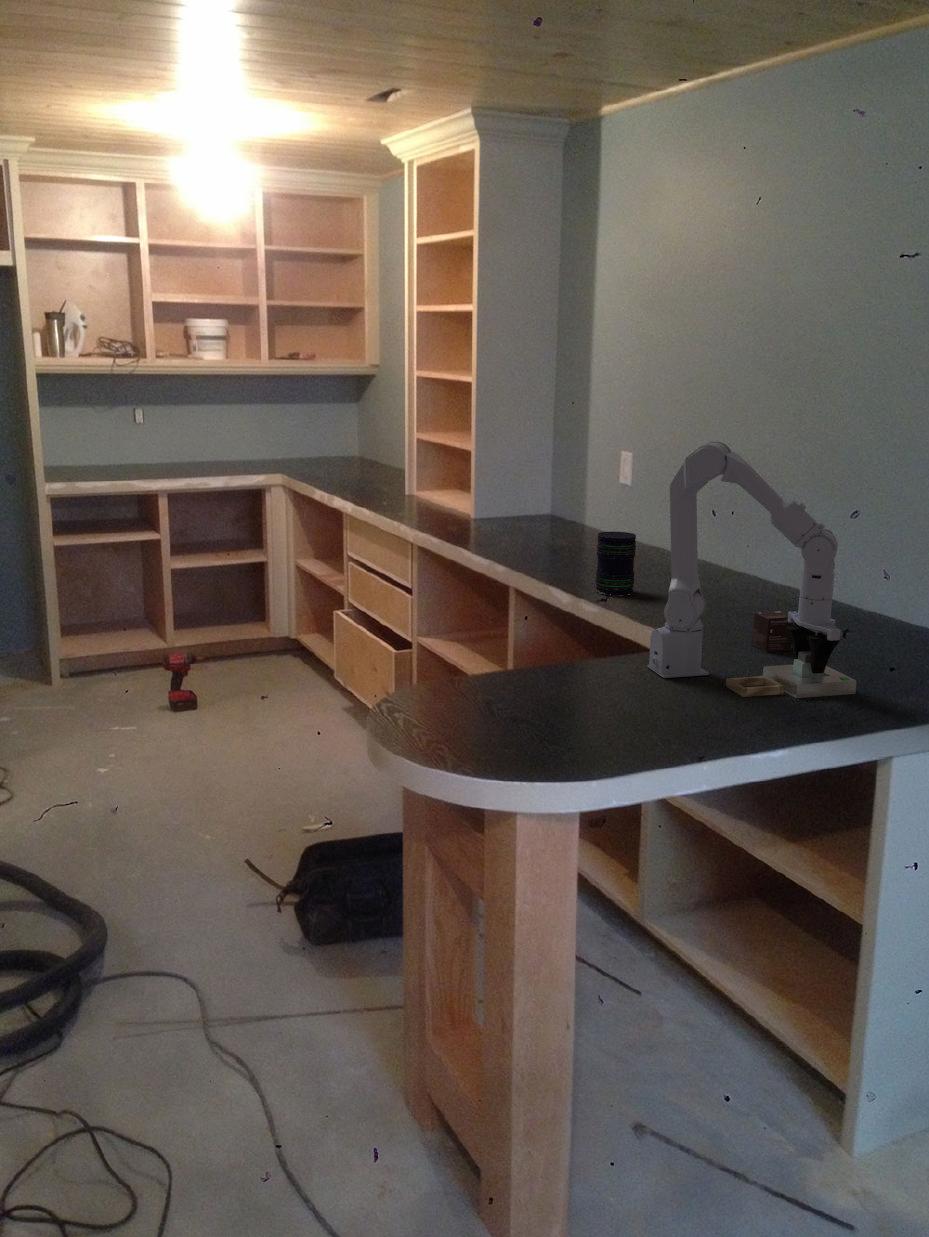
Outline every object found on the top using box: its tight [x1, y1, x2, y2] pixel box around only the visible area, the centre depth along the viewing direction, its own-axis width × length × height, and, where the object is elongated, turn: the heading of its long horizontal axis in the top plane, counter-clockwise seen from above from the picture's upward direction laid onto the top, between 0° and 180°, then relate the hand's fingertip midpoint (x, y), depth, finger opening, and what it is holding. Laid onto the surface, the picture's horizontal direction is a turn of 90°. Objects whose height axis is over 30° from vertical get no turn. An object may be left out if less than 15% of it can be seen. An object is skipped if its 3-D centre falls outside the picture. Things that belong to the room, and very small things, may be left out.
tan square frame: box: [725, 675, 785, 698], centre depth 202 cm, size 8×7×2 cm
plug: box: [792, 651, 824, 678], centre depth 204 cm, size 4×3×6 cm, turn 104°
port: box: [762, 663, 857, 699], centre depth 205 cm, size 12×12×3 cm
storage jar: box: [595, 531, 637, 595], centre depth 281 cm, size 10×10×15 cm
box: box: [751, 610, 794, 653], centre depth 231 cm, size 6×6×7 cm
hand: (809, 668), depth 204 cm, fingers open, 5 cm apart
